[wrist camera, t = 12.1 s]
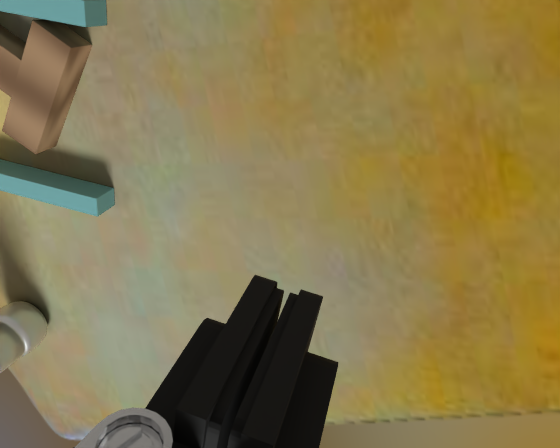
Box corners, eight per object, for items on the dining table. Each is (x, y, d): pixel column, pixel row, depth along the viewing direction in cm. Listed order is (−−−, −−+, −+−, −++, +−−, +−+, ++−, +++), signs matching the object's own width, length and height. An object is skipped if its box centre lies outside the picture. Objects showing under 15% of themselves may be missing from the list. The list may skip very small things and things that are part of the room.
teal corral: (-82, -33, 44) (-114, -34, 41) (106, 0, 40) (84, 0, 38) (-41, 164, 53) (-64, 173, 51) (114, 204, 50) (97, 216, 47)
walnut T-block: (-17, -35, 42) (-46, -37, 39) (92, 44, 42) (70, 48, 40) (-40, 77, 48) (-66, 82, 45) (56, 145, 48) (35, 154, 46)
